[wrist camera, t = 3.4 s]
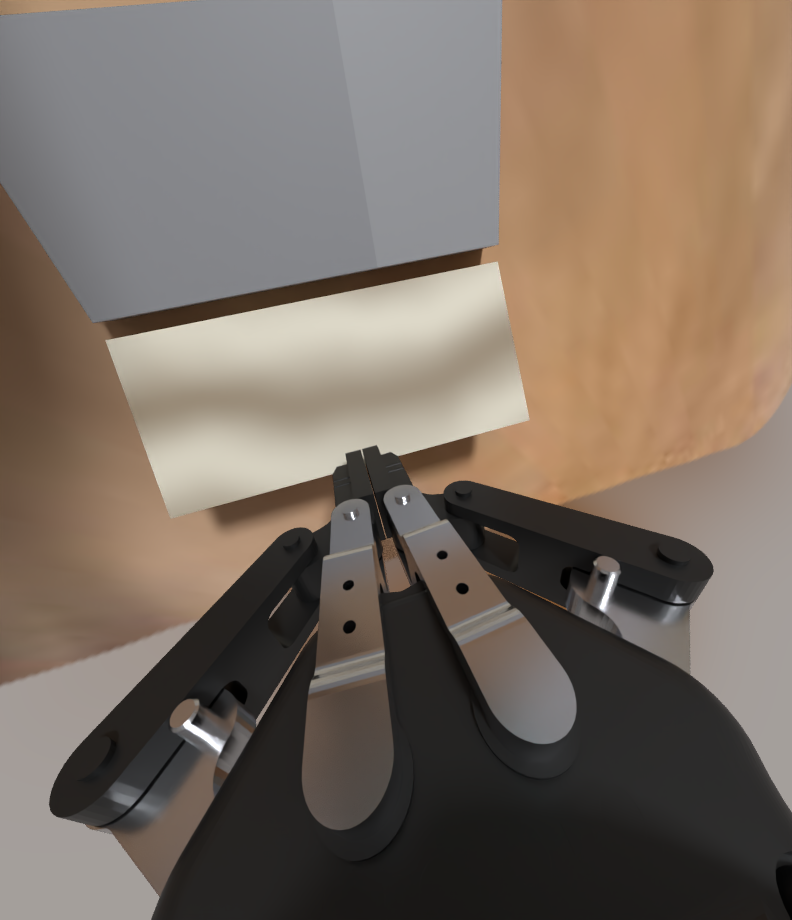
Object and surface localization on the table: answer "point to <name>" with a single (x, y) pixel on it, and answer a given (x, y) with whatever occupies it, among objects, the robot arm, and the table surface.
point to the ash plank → (320, 384)
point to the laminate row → (249, 142)
